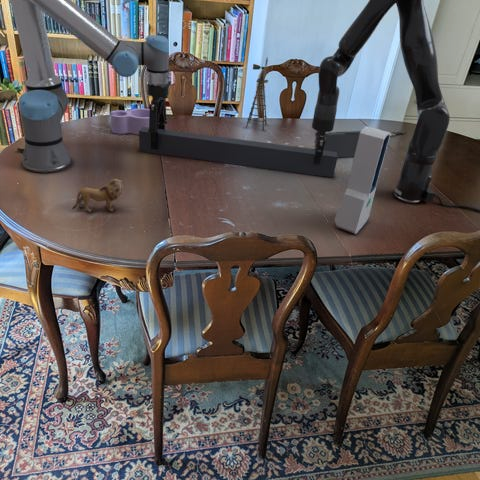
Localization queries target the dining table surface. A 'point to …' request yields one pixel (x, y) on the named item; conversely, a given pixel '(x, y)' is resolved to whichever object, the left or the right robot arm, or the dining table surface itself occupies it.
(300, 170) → the bar
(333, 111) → the right robot arm
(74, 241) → the dining table surface
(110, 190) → the lion figurine
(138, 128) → the purple lobed container
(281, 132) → the dining table surface
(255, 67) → the miniature windmill
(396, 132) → the sword
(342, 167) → the dining table surface
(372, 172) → the electronic device
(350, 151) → the handheld gaming console
